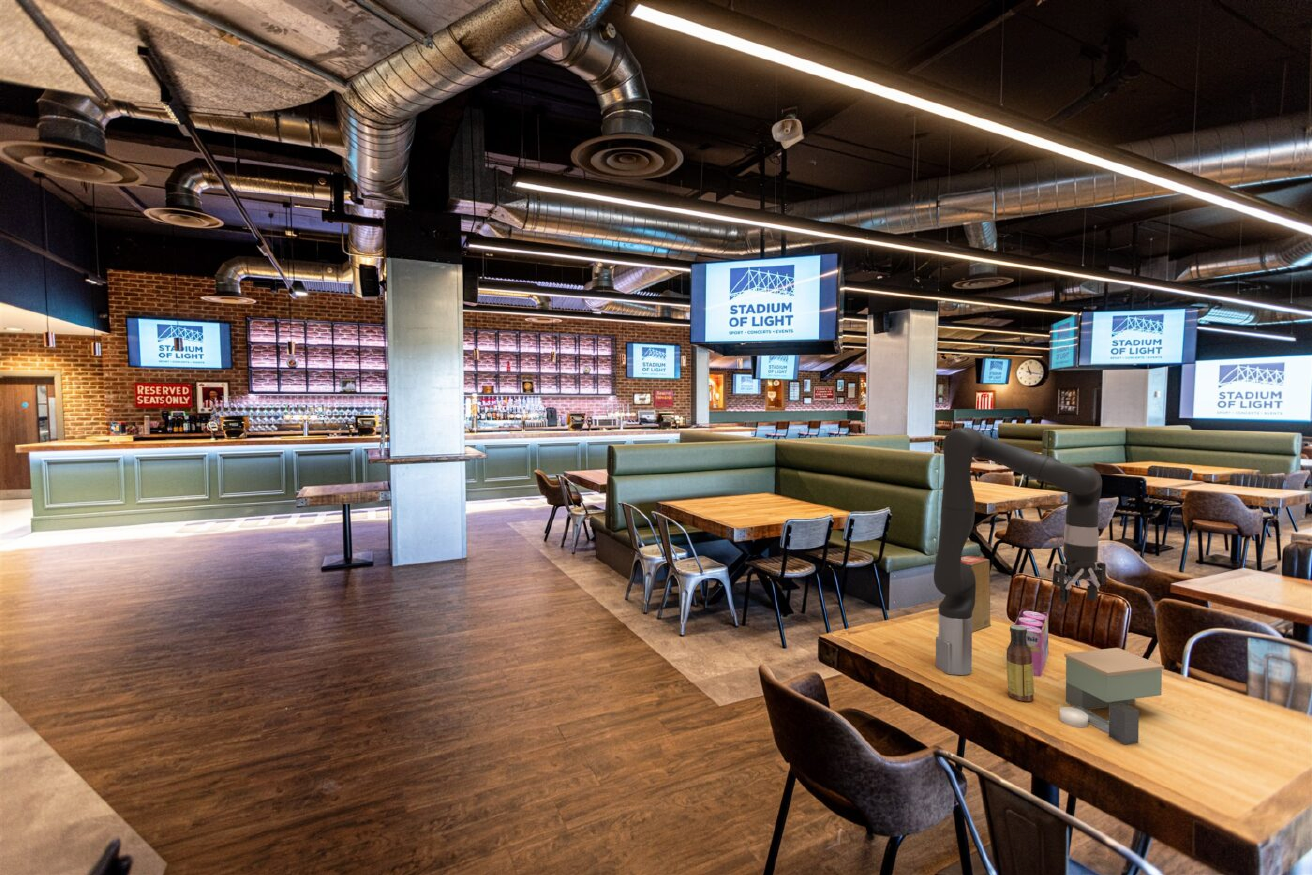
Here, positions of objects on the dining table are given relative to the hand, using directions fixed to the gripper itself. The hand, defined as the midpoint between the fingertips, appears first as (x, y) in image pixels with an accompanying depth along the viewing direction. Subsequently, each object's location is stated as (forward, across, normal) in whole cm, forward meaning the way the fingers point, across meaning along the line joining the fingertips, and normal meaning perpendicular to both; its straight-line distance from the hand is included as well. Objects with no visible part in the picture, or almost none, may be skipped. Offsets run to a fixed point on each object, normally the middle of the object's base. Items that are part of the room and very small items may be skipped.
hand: (1078, 601), depth 160 cm
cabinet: (+28, +8, -4) cm, 30 cm away
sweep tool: (+28, -4, -12) cm, 31 cm away
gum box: (+30, +11, +26) cm, 41 cm away
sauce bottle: (+29, -11, +6) cm, 32 cm away
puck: (+29, -8, -8) cm, 31 cm away
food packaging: (+30, +14, +59) cm, 68 cm away
